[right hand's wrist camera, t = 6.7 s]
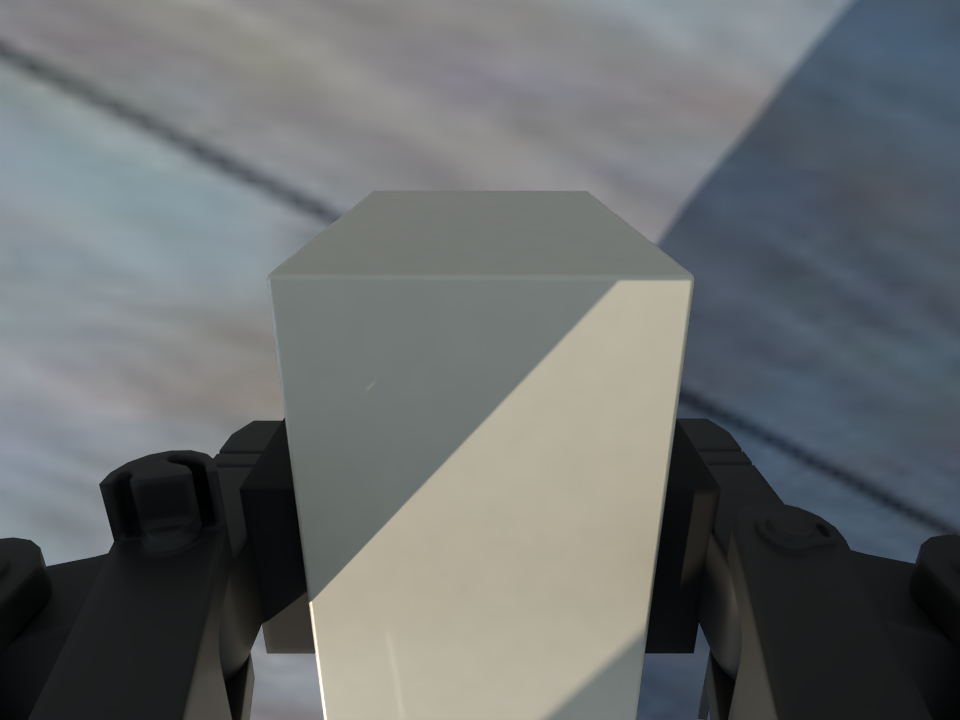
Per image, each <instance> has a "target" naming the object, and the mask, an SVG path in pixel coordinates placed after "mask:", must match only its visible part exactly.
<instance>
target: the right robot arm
mask: <svg viewBox="0 0 960 720" xmlns="http://www.w3.org/2000/svg"><path fill="white" fill-rule="evenodd" d="M751 463H752V462H751V461H750V459H749V458H748V457H747V455H746V454H745V453H744V452H741V448H740V446H739V445H738V444H737V442H736V441H735V440H734V438H733V437H732V436H731V435H730V433H729V432H727V431H726V430H724V429H723V428H721V427H719V426H718V425H716V424H715V423H713V422H711V421H710V420H708V419H676V423H675V431H674V438H673V446H672V453H671V461H670V468H669V475H668V483H667V490H666V498H665V505H664V513H663V520H662V528H661V535H660V543H659V550H658V558H657V565H656V573H655V580H654V588H653V595H652V603H651V610H650V618H649V625H648V632H647V640H646V647H645V653H694V648H695V642H696V636H697V630H698V624H699V623H700V625H701V628H702V630H703V632H704V635H705V637H706V639H707V642H708V644H709V646H710V653H709V658H708V664H707V669H706V675H705V680H704V686H703V691H702V697H701V702H700V709H699V716H698V719H703V720H707V716H708V710H710V719H711V720H960V536H956V535H943V536H936V537H931V538H929V539H928V540H927V541H926V542H924V543H923V544H922V545H921V547H920V550H919V554H918V557H917V560H916V563H915V564H913V563H908V562H903V561H898V560H893V559H888V558H883V557H878V556H873V555H868V554H864V553H860V552H856V551H852V550H850V548H849V546H848V544H847V542H846V540H845V539H844V537H843V536H842V535H841V534H840V532H839V531H838V530H837V529H836V528H835V527H834V526H833V525H831V524H830V523H828V522H827V521H825V520H824V519H822V518H821V517H819V516H817V515H815V514H813V513H810V512H808V511H805V510H803V509H801V508H798V507H793V506H789V505H784V503H783V502H782V501H781V499H780V498H779V497H778V496H777V494H776V493H775V492H774V490H773V489H772V488H771V487H770V485H769V484H768V483H767V481H766V480H765V479H764V477H763V476H762V475H761V474H760V472H759V471H758V470H757V468H756V467H755V466H754V465H752V464H751ZM99 485H100V489H101V493H102V497H103V500H104V504H105V508H106V512H107V515H108V519H109V523H110V527H111V531H112V534H113V538H114V543H113V545H112V547H111V549H110V551H109V553H108V554H104V555H100V556H96V557H92V558H87V559H82V560H77V561H72V562H67V563H62V564H57V565H52V566H47V567H46V564H45V561H44V558H43V555H42V552H41V549H40V547H39V546H37V545H36V544H35V543H34V542H32V541H31V540H26V539H20V538H4V539H0V720H250V712H251V704H252V695H253V687H254V679H255V678H254V671H253V664H252V658H251V653H250V651H251V648H252V646H253V644H254V641H255V639H256V637H257V634H258V632H259V629H260V627H261V625H262V627H263V633H264V639H265V645H266V651H267V653H315V645H314V638H313V630H312V622H311V615H310V607H309V599H308V591H307V584H306V576H305V568H304V561H303V553H302V545H301V538H300V530H299V522H298V514H297V507H296V499H295V491H294V484H293V476H292V468H291V461H290V453H289V445H288V438H287V430H286V422H285V418H284V419H283V421H253V422H251V423H250V424H248V425H246V426H245V427H243V428H242V429H240V430H238V431H237V432H235V433H234V434H232V435H231V436H230V438H229V439H228V440H227V442H226V443H225V444H224V446H223V447H222V448H221V449H220V453H219V454H217V455H216V456H215V457H214V459H213V458H211V457H210V456H209V455H208V454H205V453H201V452H196V451H192V450H181V451H167V452H161V453H156V454H151V455H147V456H145V457H142V458H139V459H136V460H133V461H131V462H128V463H126V464H124V465H123V466H121V467H119V468H118V469H116V470H114V471H112V472H111V473H110V474H109V475H108V476H107V477H106V478H105V479H104V480H103V481H102V482H101V483H100V484H99Z"/></svg>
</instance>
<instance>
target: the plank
mask: <svg viewBox="0 0 960 720" xmlns="http://www.w3.org/2000/svg"><path fill="white" fill-rule="evenodd" d="M694 281H695V280H694V276H693V275H692V274H691V273H690V272H689V271H687V270H686V269H685V268H684V267H682V266H681V265H680V264H678V263H677V262H676V261H675V260H673V259H672V258H671V257H670V256H668V255H667V254H666V253H665V252H663V251H662V250H661V249H659V248H658V247H657V246H656V245H654V244H653V243H652V242H651V241H649V240H648V239H647V238H646V237H644V236H643V235H642V234H641V233H639V232H638V231H637V230H635V229H634V228H633V227H632V226H630V225H629V224H628V223H627V222H625V221H624V220H623V219H622V218H620V217H619V216H618V215H617V214H615V213H614V212H613V211H611V210H610V209H609V208H608V207H606V206H605V205H604V204H603V203H601V202H600V201H599V200H598V199H596V198H595V197H594V196H592V195H591V194H590V193H589V192H587V191H373V192H372V193H370V194H369V195H368V196H367V197H365V198H364V199H363V200H362V201H360V202H359V203H358V204H357V205H355V206H354V207H353V208H352V209H350V210H349V211H348V212H347V213H345V214H344V215H343V216H342V217H340V218H339V219H338V220H336V221H335V222H334V223H333V224H331V225H330V226H329V227H328V228H326V229H325V230H324V231H323V232H321V233H320V234H319V235H318V236H316V237H315V238H314V239H313V240H311V241H310V242H309V243H308V244H306V245H305V246H304V247H303V248H301V249H300V250H299V251H297V252H296V253H295V254H294V255H292V256H291V257H290V258H289V259H287V260H286V261H285V262H284V263H282V264H281V265H280V266H279V267H277V268H276V269H275V270H274V271H272V272H271V273H270V274H269V275H268V278H267V284H268V291H269V299H270V307H271V314H272V322H273V330H274V337H275V345H276V353H277V361H278V368H279V376H280V384H281V391H282V399H283V407H284V414H285V422H286V430H287V438H288V445H289V453H290V461H291V468H292V476H293V484H294V491H295V499H296V507H297V514H298V522H299V530H300V538H301V545H302V553H303V561H304V568H305V576H306V584H307V591H308V599H309V607H310V615H311V622H312V630H313V638H314V645H315V653H316V661H317V668H318V676H319V684H320V692H321V699H322V707H323V715H324V720H636V715H637V707H638V700H639V692H640V685H641V677H642V670H643V662H644V655H645V647H646V640H647V632H648V625H649V618H650V610H651V603H652V595H653V588H654V580H655V573H656V565H657V558H658V550H659V543H660V535H661V528H662V520H663V513H664V505H665V498H666V490H667V483H668V475H669V468H670V461H671V453H672V446H673V438H674V431H675V423H676V416H677V408H678V401H679V393H680V386H681V378H682V371H683V363H684V356H685V348H686V341H687V333H688V326H689V318H690V311H691V303H692V296H693V289H694Z"/></svg>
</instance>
